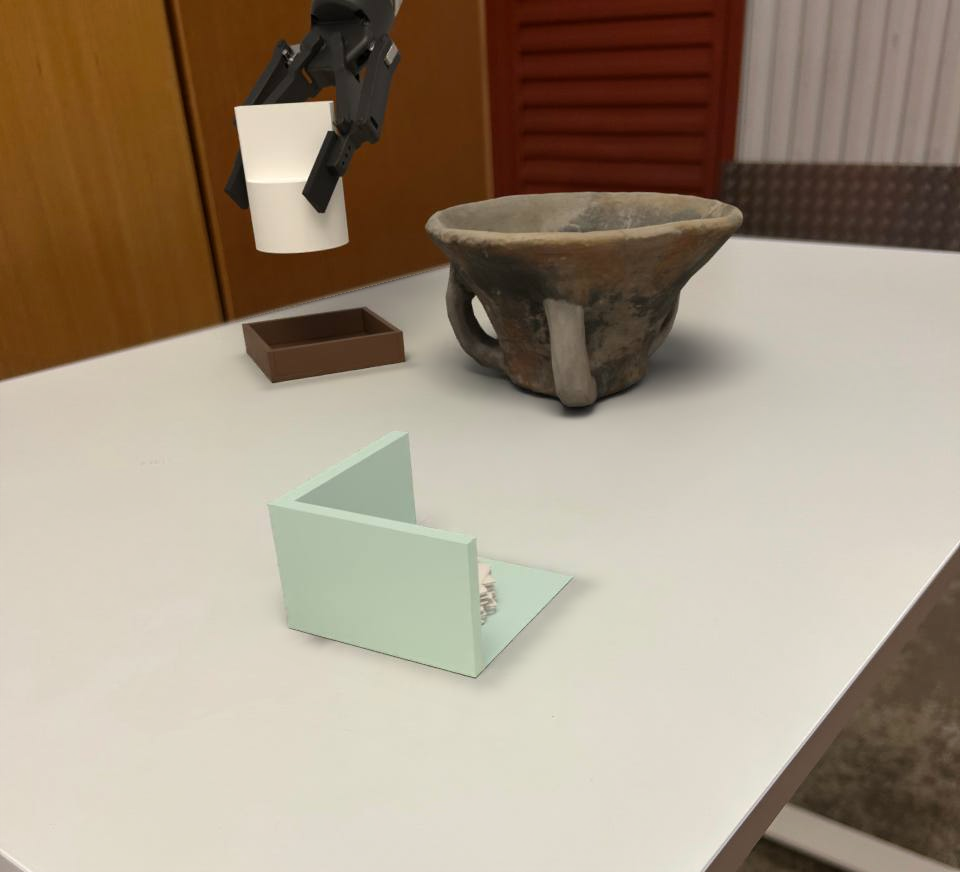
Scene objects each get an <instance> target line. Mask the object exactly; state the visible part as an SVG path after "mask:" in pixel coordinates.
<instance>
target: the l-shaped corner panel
mask: <svg viewBox="0 0 960 872" xmlns="http://www.w3.org/2000/svg"><path fill="white" fill-rule="evenodd" d="M411 457H412V456H411V445H410V435H409V432H407V431H401V430H392V431H390V432H389V433H387V434H385V435H384V436H382V437H380V438H378V439H377V440H375V441H373V442H372V443H370V444H368V445H366V446H365V447H363V448H361V449H360V450H357V451H356V452H354V453H352V454H351V455H349V456H348V457H346V458H344V459H342V460H341V461H339V462H337V463H335V464H334V465H332V466H329V468H327V469H325V470H323V471H322V472H320V473H318V474H317V475H315V476H313V477H312V478H310V479H308V480H306V481H305V482H303V483H302V484H300V485H297V486H296V487H294V488H293V489H291V490H289V491H287V492H286V493H284V494H282V495H280V496H278V497H277V498H275V499H273V500H272V501H269V503H267V510H268V515H269V520H270V521H269V522H270V525H271V533H272V537H273V542H274V543H273V544H274V549H275V550H274V551H275V555H276V560H277V567H278V572H279V573H278V574H279V579H280V584H281V589H282V595H283V600H284V601H283V602H284V606H285V612H286V613H285V614H286V618H287V624H288V628H289V629H292V630H296V631H300V632H303V633H307V634H310V635H315V636H317V637H322V638H326V639H328V640H329V639H330V640H334V641H336V642H341V643H343V644H348V645H352V646H356V647H358V648H359V647H360V648H363V649H367V650H371V651H375V652H378V653H382V654H385V655H390V656H393V657H397V658H401V659H404V660H408V661H411V662H414V663H419V664H423V665H427V666H430V667H434V668H438V669H442V670H445V671H449V672H452V673H457V674H460V675H464V676H468V677H471V678H477V677H478V676H479V675H480V674H481V673H482V672H483V670H484V669H486V668H487V666H488V665H489V664H490V663H491V662H492V661H493V660H494V659H495V658H496V657H498V655H499V654H500V653H501V652H502V651H503V650H504V649H505V648H506V647H507V646H508V645H509V644H510V643H511V642H512V641H513V639H515V637H516V636H517V635H519V634H520V632H521V631H523V629H525V627H526V626H528V625H529V623H530V622H531V621H532V620H533V619H534V618H535V617H536V616H537V615H538V614H539V613H540V612H541V611H542V610H543V609H544V608H545V606H547V605H548V604H549V602H551V600H552V599H554V598H555V596H556V595H558V593H559V592H560V591H561V590H562V589H563V588H564V587H566V585H567V584H568V583H569V582H570V581H571V580H572V579H573V578H574V576H573V575H569V574H564V573H559V572H553V571H550V570H549V571H548V570H544V569H539V568H535V567H529V566H525V565H524V566H523V565H520V564H516V563H510V562H507V561H506V562H505V561H501V560H496V559H490V558H487V557H486V558H485V557H481V556H479V555H478V543H477V541H478V540H477V539H478V538H477V536H474V535H470V534H464V533H459V532H454V531H449V530H444V529H439V528H434V527H429V526H424V525H419V524H417V514H416V501H415V491H414V479H413V470H412V469H413V468H412V458H411Z"/></svg>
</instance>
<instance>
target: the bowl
mask: <svg viewBox="0 0 960 872" xmlns="http://www.w3.org/2000/svg"><path fill="white" fill-rule="evenodd" d="M743 215H744V214H743V212H742V211H741V209H739V208H738V207H737V206H734V205H732V204H729V203H726V202H722V201H720V200H718V199H710V198H704V197H701V196H697V195H688V194H687V195H685V194H679V193H663V192H654V191H653V192H651V191H649V192H646V191H632V192H631V191H630V192H627V191H618V192H616V191H615V192H611V191H601V192H600V191H599V192H598V191H579V192H578V191H574V192H549V193H547V192H546V193H531V194H530V193H529V194H515V195H513V194H512V195H506V196H500V197H496V198H490V199H485V200H479V201H475V202H469V203H462V204H458V205H454V206H451V207H450V206H449V207H448V208H445V209H442V210H438V211H436V212H435V213H433V214H432V215H431V216H430V217H429V218H428V220H427V222H426V224H425V225H424V230H425V233H426V235H427V236H428V237H429V238H430V240H431V241H432V242H433V244H435V246H436V247H437V248H438V249H439V250H440V251H441V252H442V254H443V255H445V257H446V258H447V259H448V260H449V261H450V262H449V274H448V281H447V287H446V293H445V305H446V314H447V319H448V321H449V323H450V326H451V328H452V331H453V333H454V336H455V338H456V340H457V342H458V343H459V345H460V347H461V348H462V350H463V351H464V353H465V354H466V355H468V356H469V357H470V358H472V359H473V360H474V361H475V362H477V363H478V364H479V365H480V366H482V367H485V368H488V369H491V370H493V371H497V372H499V373H502V374H503V373H504V374H506V375H507V377H508V378H509V379H510V381H511V382H512V383H513V384H515V385H517V386H519V387H520V388H523V389H524V390H527V391H531V392H533V393H536V394H541V395H546V396H550V397H554V398H558V399H559V400H560V402H561V403H562V405H565V406H567V407H572V408H573V407H587V406H591V405H592V404H594V403H595V402H596V400H599V399H601V398H604V397H606V396H610V395H612V394H615V393H618V392H620V391H624V390H627V389H628V388H630V387H631V386H632V385H633V384H636V383H638V382H639V381H640V380H641V379H642V378H643V377H644V376H645V375H647V373H648V371H649V367H648V359H650V358H651V357H652V356H653V355H654V353H656V351H657V350H658V349H659V348H660V347H661V346H662V345H663V344H664V342H665V341H666V340H667V338H668V337H669V334H670V333H671V331H672V329H673V326H674V323H675V320H676V317H677V314H678V311H679V305H680V298H681V293H682V292H681V291H682V290H683V289H684V287H685V286H686V285H687V284H688V282H689V281H690V280H691V279H692V278H693V276H695V274H697V273H698V272H699V271H700V270H701V269H703V268H704V267H705V266H706V264H708V263H709V262H710V261H711V260H712V259H713V257H714V256H715V255H716V254H717V253H718V252H719V250H721V248H722V247H723V246H724V245H725V244H726V243H727V242H728V241H729V240H730V238H731V237H732V236H733V235H734V234H735V233H736V232H737V230H739V228H740V227H741V226H742V225H743V221H744V217H743ZM475 297H477V299H478V301H479V303H480V304H481V306H482V307H483V310H484V311H485V312H484V313H485V314H486V316H487V318H488V320H489V323H490V324H491V326H492V329H493V330H494V332H495V335H496V337H497V338H495V337H493V336H491V335H489V334H488V333H486V330H484V329H483V327H482V325H481V324H480V322H479V321H478V319H477V317H476V315H475V312H474V311H475V310H474V306H473V303H472V302H473V299H474V298H475Z"/></svg>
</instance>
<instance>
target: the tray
mask: <svg viewBox="0 0 960 872" xmlns="http://www.w3.org/2000/svg"><path fill="white" fill-rule="evenodd" d="M241 328H242V333H243V339H244V345H245V351H246V354H247V355H248V356H249V357H250V358H251V360H253V362H254V363H255V364H256V365H257V366H258V368H259V369H260V370H261V371H262V373H263V374H264V375H265V376H266V377H267V378H268V380H269V381H270V382H271V383H273V384H274V383H278V382H284V381H285V382H286V381H291V380H297V379H304V378H309V377H317V376H323V375H329V374H335V373H336V374H337V373H341V372H349V371H353V370H361V369H366V368H374V367H380V366H385V365H392V364H397V363H404V362H406V354H405V343H404V332H403V331H402V330H401V329H400V328H398V327H397V326H395V325H393V323H390V322H389V321H388V320H386V319H385V318H384V317H382V316H381V315H379V314H377V313H376V312H375V311H373V310H372V309H370V308H368V307H367V306H359V307H358V306H357V307H353V308H345V309H337V310H330V311H322V312H317V313H309V314H303V315H294V316H288V317H282V318H274V319H267V320H260V321H252V322H246V323H241Z"/></svg>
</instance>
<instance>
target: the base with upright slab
mask: <svg viewBox="0 0 960 872" xmlns="http://www.w3.org/2000/svg"><path fill="white" fill-rule="evenodd" d="M233 109H234V115H235V116H236V122H237V128H236V130H237V129H238V130H237V133H238V140H239V141H238V142H239V148H241V154H242V160H243V167H244V173H245V180H246V186H247V192H248V199H249V211H250V216H251V223H252V230H253V236H254V242H255V249H256V250H257V251H259V252H263V253H270V254H299V253H311V252H319V251H326V250H331V249H335V248H339V247H342V246H344V245H347V244H348V243H349V242H350V240H349V239H350V238H349V229H348V221H347V220H348V219H347V211H346V201H345V194H344V192H345V191H344V183H343V177H339V180H338V182H337V185H336V187H335V189H334V192H333V194H332V197H331V199H330V201H329V204H328V206H327V209H326V211H325V213H318V212H317V211H316V210H315V209H314V207H313V206H312V205H311V204H310V203H309V202H308V200H307V199H306V198H305V197H304V196H303V195H302V191H303V189H304V187H305V184H306V182H307V179H308V177H309V175H310V172H311V170H312V167H313V165H314V163H315V160H316V158H317V156H318V153H319V151H320V148H321V146H322V144H323V141H324V139H325V136H326V134H327V132H328V131H335V132H336V134H337V135H338V130H337V129H336V127H335V126H334V125H333V122H334V123H335V124H337V123H336V122H335V121H336V120H337V118H336V111H335V103H334V100H321V101H306V102H304V103H287V104H269V105H252V106H242V105H237V106H234V108H233ZM235 116H234V117H235Z"/></svg>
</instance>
